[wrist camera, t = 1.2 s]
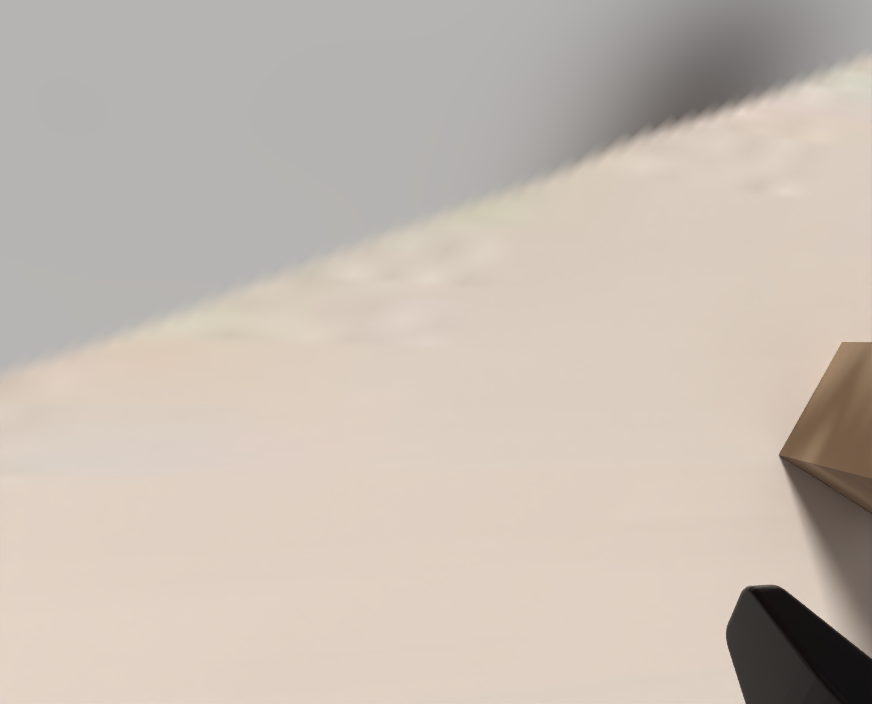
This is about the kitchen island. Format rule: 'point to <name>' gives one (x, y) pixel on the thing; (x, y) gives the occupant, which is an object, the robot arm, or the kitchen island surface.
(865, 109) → the kitchen island surface
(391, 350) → the kitchen island surface
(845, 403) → the walnut block
